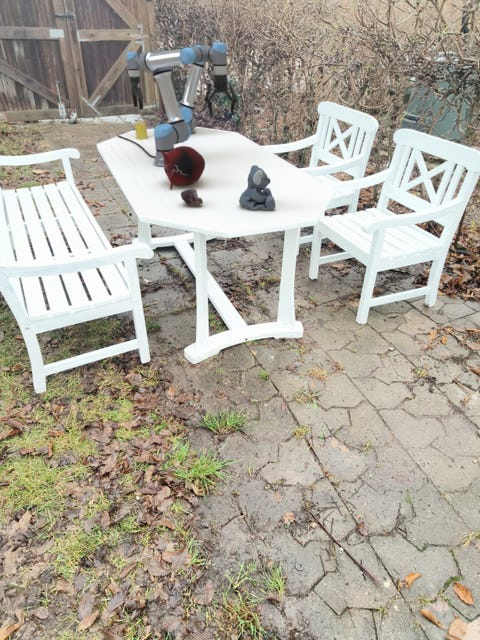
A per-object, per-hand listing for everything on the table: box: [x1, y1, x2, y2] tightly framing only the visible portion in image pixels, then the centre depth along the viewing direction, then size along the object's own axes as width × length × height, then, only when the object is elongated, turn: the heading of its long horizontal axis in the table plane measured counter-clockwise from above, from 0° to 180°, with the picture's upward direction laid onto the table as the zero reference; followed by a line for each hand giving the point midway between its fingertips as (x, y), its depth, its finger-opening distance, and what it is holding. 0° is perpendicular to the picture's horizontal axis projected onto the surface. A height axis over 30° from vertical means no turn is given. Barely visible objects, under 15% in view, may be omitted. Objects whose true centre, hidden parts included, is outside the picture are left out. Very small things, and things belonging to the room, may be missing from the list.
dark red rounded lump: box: [161, 145, 206, 190], centre depth 255 cm, size 21×24×25 cm
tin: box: [134, 121, 148, 140], centre depth 352 cm, size 8×8×11 cm
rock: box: [180, 188, 204, 207], centre depth 229 cm, size 12×9×10 cm
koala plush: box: [238, 164, 276, 211], centre depth 224 cm, size 17×18×20 cm
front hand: (221, 114), depth 268 cm, fingers open, 13 cm apart
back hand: (138, 107), depth 343 cm, fingers open, 13 cm apart
